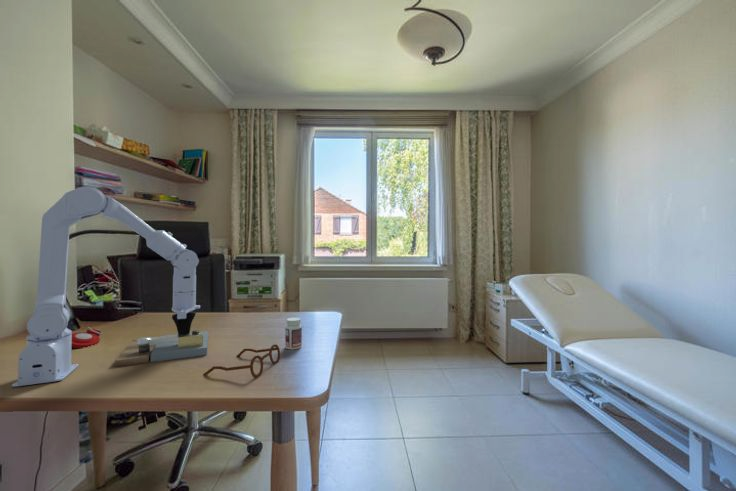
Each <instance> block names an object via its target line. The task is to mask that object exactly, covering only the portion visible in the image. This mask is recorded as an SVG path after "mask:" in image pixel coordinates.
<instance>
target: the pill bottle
mask: <svg viewBox="0 0 736 491" xmlns="http://www.w3.org/2000/svg"><path fill="white" fill-rule="evenodd" d="M301 321H302V320H301V318H299V317H289V318H287V319H286V326H285V330H284V331H285V334H284V335H285V336H284V337H285V341H284V343H285V344H284V345H285V349H288V350H294V351H295V350H298V349H300V348H302V343H303V342H302V341H303V340H302V339H303V338H302V334H303V333H302V332H303V331H302V329H303V327H302V325H301Z"/></svg>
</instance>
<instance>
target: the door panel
mask: <svg viewBox="0 0 736 491" xmlns="http://www.w3.org/2000/svg"><path fill="white" fill-rule="evenodd" d="M199 333H200V334H203V346H196V347H187V348H178V342H175V343H166V344H157V345H156V346H155V348H154V350H153V351H152V353H151V359H150V363H153V362H162V361H169V360H176V359H185V358H194V357H200V356H207V355H208V345H209V333H210V332H209V330H205V331H199ZM189 334H192V332H190V333H189ZM172 335H178V333H176V334H167V335H166V334H164V335H161V336H160V337H162V336H172Z"/></svg>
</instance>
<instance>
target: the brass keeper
mask: <svg viewBox="0 0 736 491" xmlns="http://www.w3.org/2000/svg"><path fill="white" fill-rule="evenodd" d="M196 346H203V334H198V335H188V336H179V337H178V348H187V347H196Z"/></svg>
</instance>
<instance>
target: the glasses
mask: <svg viewBox="0 0 736 491" xmlns="http://www.w3.org/2000/svg"><path fill="white" fill-rule="evenodd" d="M273 351H277V357H276V360H274V359H273V353H272V352H273ZM245 352H253V353H256V354H259V353H265V352H266V354H264V355H263V356H260V355H255V356H253V357H252V359H251V360H250V364H246V365H239V366H230V367H226V366H221V365H215V366H214V365H213V366H212V367H211V368H210V369H208V370H207V371H206V372H204V373H203V374H202V376H207V375H209V374H210V373H212V372H213V371H214V370H222V371H226V372H227V371H235V370H236V371H238V370H244V369H249V371H250V375H251V376H252V377H253V378H255V379H256V378H259V377H261V375H262V374H263V370H264V360H265V358H267V357H269V360H270V362H271V364H272V365H276V364H278V363H279V361H280V359H281V350H280V347H279V345H278V344H272V345H271V346H270V348H263V349H253V348H243V349H242V350H241V351H239V353H238V354H237V355H236V357H241V356H242V355H243V354H245ZM267 352H268V353H267ZM257 359H258V360H259V363H260V369H259V372H258V373H257V374H256V373H255V371H254V363H255V360H257Z"/></svg>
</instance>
